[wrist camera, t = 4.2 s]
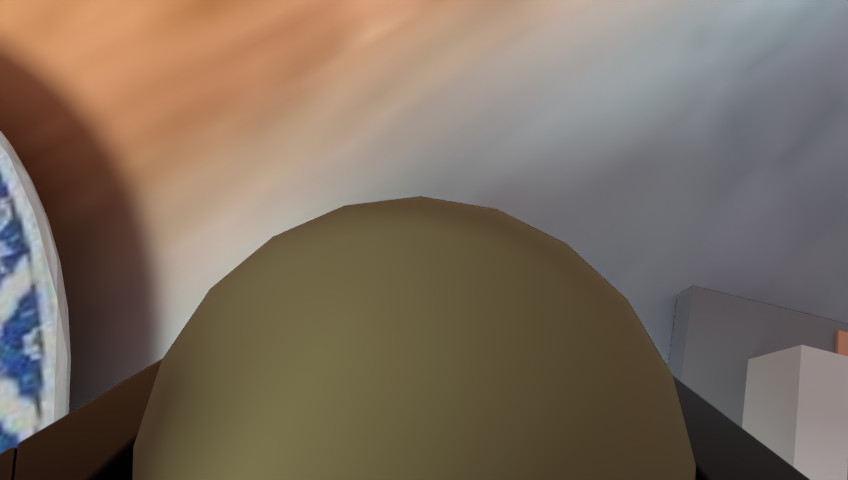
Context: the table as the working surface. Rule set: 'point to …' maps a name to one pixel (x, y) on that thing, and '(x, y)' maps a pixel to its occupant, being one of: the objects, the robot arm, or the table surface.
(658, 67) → the table surface
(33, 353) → the ceramic plate
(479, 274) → the olive rounded knob shape
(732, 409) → the socket base
